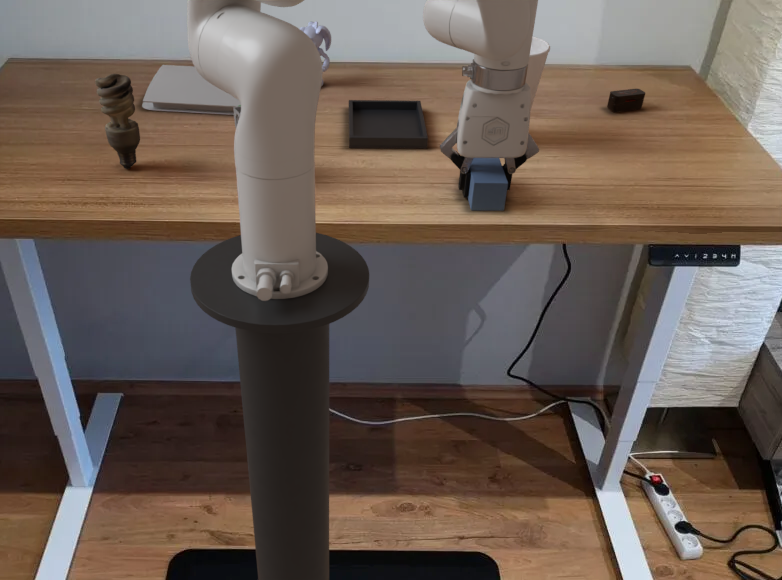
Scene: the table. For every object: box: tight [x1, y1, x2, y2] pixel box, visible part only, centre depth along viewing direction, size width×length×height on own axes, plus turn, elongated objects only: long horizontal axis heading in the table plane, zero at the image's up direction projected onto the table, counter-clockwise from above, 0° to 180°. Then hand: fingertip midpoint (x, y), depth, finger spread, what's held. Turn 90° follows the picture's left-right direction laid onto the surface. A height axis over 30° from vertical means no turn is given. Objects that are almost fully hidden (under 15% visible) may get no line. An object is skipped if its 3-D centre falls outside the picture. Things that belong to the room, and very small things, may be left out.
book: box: [141, 64, 241, 116], centre depth 154 cm, size 15×23×4 cm, turn 83°
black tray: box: [348, 99, 429, 150], centre depth 144 cm, size 17×13×2 cm
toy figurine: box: [298, 20, 332, 87], centre depth 158 cm, size 7×6×12 cm
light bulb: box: [94, 73, 141, 170], centre depth 127 cm, size 6×6×15 cm
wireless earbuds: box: [606, 88, 646, 114], centre depth 152 cm, size 5×7×3 cm, turn 107°
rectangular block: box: [467, 158, 508, 212], centre depth 123 cm, size 10×5×4 cm, turn 0°
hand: (483, 192), depth 124 cm, fingers closed on rectangular block, 5 cm apart
